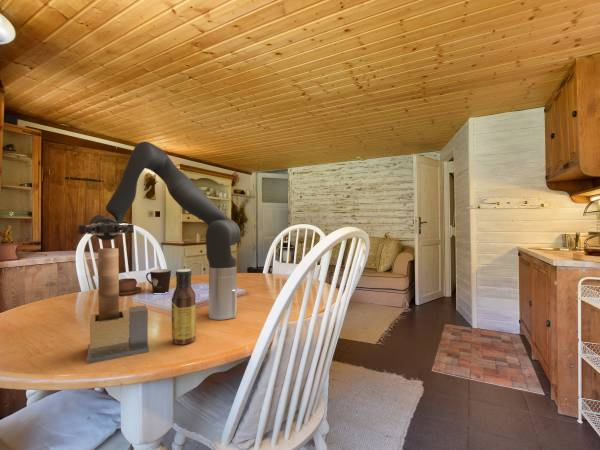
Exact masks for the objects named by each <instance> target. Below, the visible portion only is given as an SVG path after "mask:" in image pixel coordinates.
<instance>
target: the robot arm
mask: <svg viewBox="0 0 600 450" xmlns="http://www.w3.org/2000/svg"><path fill="white" fill-rule="evenodd" d="M145 169H146V170H149V171H151V172H152V173H154V174H155V175H156V176H158V178H160V179H161V180H162V181H163V182H164V184H165V186H166V188H167V191H168V194H169V195H170V197H172V199H173V200H174V201H175V203H177V204H178V205H179V206H180V207H181V208H182V209H183V210H185V212H187V213H189V214H191V215H192V216H194V217H196V218H197V219H200V220H201V221H202V222H204V223H205V224H206V225H207V226H208V227H207V228H206V232H205V244H206V245H205V248H206V259H207V261H208V318H210V319H211V320H219V321H221V320H228V319H235V318H236V316H237V312H238V311H237V304H238V303H237V301H238V300H237V298H238V295H237V293H238V288H237V258H236V257H235V256H233V254H232V248H231V246H234V245H236V244H238V243H239V241H240V240H241V237H242V232H241V229H240V226H239V224H238V223H236V222H235V221H234V220H232V218H230V217H229V216H228V215H226V214H225V212H223V211H221V210H220V209H219V208H218V207H217V206H216V204H214V202H213V201H212V200H211V199H210V198H209V197H208V196H207V195H206V194H205V193H204V192H203V191H202V190H201V189H200V187H198V185H197V184H195V182H194V181H192V179H190V177H188V176H187V175H186V174H185V173H184V172H182V170H180V169H179V168H178V167H177V165H176V164H175V163H174V162H173V161H172V160H171V158H170V156H169V155H168V154H167V153H166V152H165V150H163V149H162V148H160V147H158V146H156V145H155V144H153V143H151V142H149V141H141V142H139V143H137V144H136V145H135V147H134V148H133V150H132V152H131V154H130V157H129V159H128V162H127V163H126V166H125V169H124V171H123V173H122V176H121V179H120V181H119V184H118V185H117V187H116V189H115V191H114V193H113V194H112V196H111V197H110V199H109V200H108V202H107V203H106V205H105V211H106V212H107V213H108V214H110V215H111V216H113V217H109V216H104V215H102V214H97V215H95V216H93V217H92V218H91V219H90V220H89V222H88V223H87V224H86V225H85V224H79V225H78V226H77V227H78V231H77V232H78V234H79V235H84V234H86V235H91V236H95V237H96V238H97V239H99V240H101V241H113V240H115V239H117V238H118V237H119V235H123V234H127V233H129V234H134V232H135V231H134V224H129V223H128V224H123V223H124V219H125V217H126V214H127V213H128V211H129V210H130V209H131V207H132V205H133V203H134V202H135V199H136V194H137V187H138V181H139V179H140V176H141V174H142V173H143V172H144V170H145Z"/></svg>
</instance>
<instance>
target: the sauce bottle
mask: <svg viewBox="0 0 600 450" xmlns="http://www.w3.org/2000/svg"><path fill="white" fill-rule="evenodd" d="M191 276H192V269H190V268H181V269H177V270H175V277H176V279H175V281H176V284H175V289H174V292H173V294H172V298H171V337H172V342H173V344H175V345H188V344H191V343H192V342H194V341H196V334H197V311H196V310H197V304H196V292H195V290H194V289H193V288H192V283H191V282H192V281H191V280H192V277H191Z"/></svg>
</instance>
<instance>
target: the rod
mask: <svg viewBox="0 0 600 450" xmlns="http://www.w3.org/2000/svg"><path fill="white" fill-rule="evenodd" d="M119 259H120V258H119V248H118V247H108V248H107V247H105V248H97V267H98V268H97V271H98V272H97V276H98V278H97V279H98V280H97V281H98V282H97V283H98V288H97V291H98V294H97V295H98V314H99V321H103V320H110V319H117V318H119V311H120V295H119V280H120V275H119V273H120V272H119V271H120V270H119V263H120V261H119Z"/></svg>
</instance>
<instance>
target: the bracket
mask: <svg viewBox="0 0 600 450" xmlns="http://www.w3.org/2000/svg"><path fill="white" fill-rule="evenodd" d="M148 311H149V309H148V307H147V306H146V304H145V305H138V306H130V307H128V312H127V310H126V309H123V310H119V318H117V319H110V320H103V321H99V313H91V314H90V319H89V344H88V346H87V347H88V348H87V359H86V360H87V361H86V363H87V364H92V363H97V362H103V361H107V360H111V359H117V358H122V357H128V356H133V355H138V354H145V353H148V352H150V347H149V342H148V341H149V339H148V337H149V335H148V334H149V332H148V331H149V325H148V324H149V321H148V320H149V319H148V318H149V313H148Z"/></svg>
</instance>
